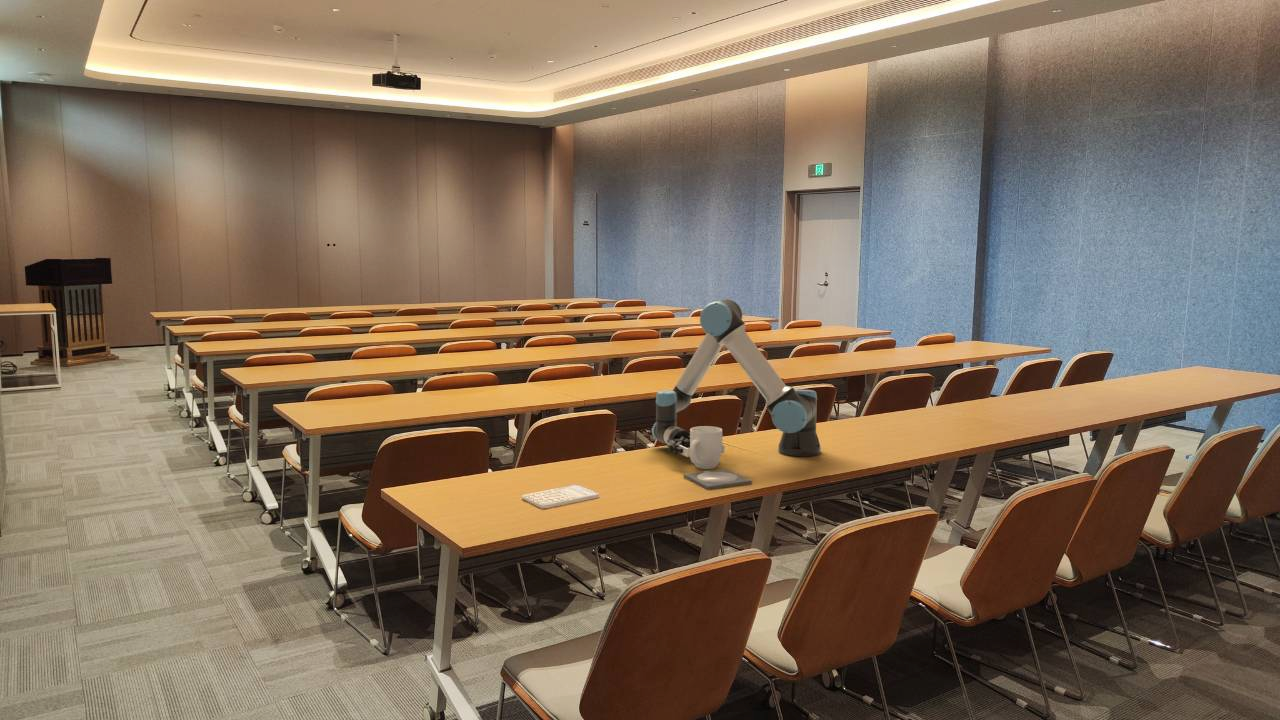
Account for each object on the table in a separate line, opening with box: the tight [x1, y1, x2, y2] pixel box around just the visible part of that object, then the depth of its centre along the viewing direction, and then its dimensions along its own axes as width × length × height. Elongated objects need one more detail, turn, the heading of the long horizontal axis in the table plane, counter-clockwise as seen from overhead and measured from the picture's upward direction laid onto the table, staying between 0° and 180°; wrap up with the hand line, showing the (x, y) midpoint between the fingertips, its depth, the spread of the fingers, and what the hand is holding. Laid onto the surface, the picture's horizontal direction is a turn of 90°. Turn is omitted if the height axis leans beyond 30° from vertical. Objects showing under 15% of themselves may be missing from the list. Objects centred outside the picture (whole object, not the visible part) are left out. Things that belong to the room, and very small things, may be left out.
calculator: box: [521, 484, 600, 509], centre depth 258 cm, size 13×20×2 cm, turn 127°
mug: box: [689, 425, 723, 470], centre depth 291 cm, size 15×11×13 cm
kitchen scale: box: [683, 468, 753, 490], centre depth 277 cm, size 16×16×1 cm
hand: (706, 451), depth 291 cm, fingers closed on mug, 13 cm apart
